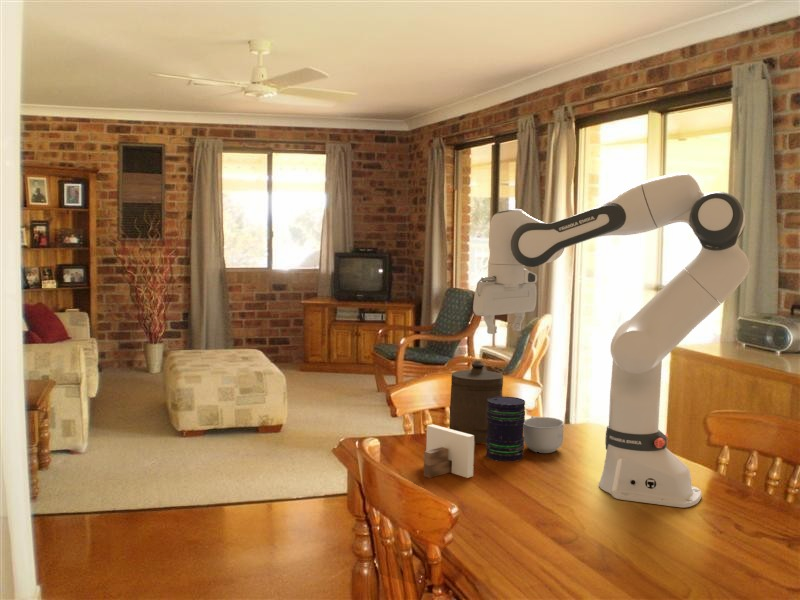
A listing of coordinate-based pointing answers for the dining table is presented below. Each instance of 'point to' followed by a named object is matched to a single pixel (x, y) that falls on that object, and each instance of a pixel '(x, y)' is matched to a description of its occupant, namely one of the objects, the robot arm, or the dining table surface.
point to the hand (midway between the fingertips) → (504, 332)
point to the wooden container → (473, 400)
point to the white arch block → (453, 448)
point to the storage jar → (505, 428)
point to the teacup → (543, 434)
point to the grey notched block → (438, 462)
